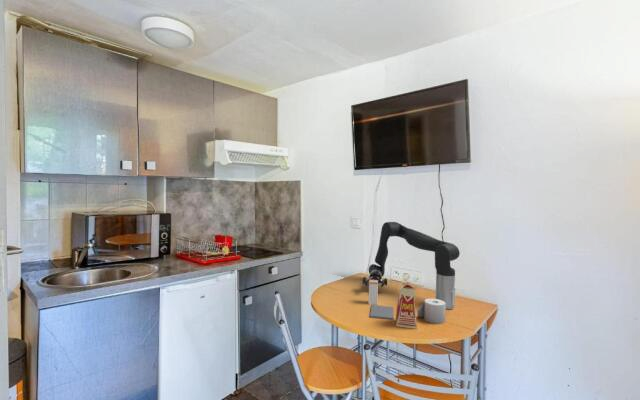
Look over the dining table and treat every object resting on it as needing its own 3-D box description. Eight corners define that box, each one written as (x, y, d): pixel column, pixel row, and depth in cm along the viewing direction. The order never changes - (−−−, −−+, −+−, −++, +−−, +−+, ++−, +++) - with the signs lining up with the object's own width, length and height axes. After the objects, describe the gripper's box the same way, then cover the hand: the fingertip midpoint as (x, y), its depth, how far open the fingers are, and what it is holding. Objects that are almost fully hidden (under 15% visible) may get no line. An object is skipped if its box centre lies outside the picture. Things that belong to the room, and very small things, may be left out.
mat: (371, 306, 168) (371, 304, 168) (393, 308, 166) (393, 306, 166) (369, 317, 153) (370, 315, 153) (393, 319, 151) (393, 318, 151)
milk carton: (417, 328, 142) (419, 283, 141) (396, 326, 144) (397, 282, 143) (415, 320, 151) (417, 278, 150) (395, 318, 152) (396, 276, 152)
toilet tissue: (413, 316, 155) (413, 299, 155) (438, 315, 158) (439, 298, 157) (422, 324, 146) (422, 306, 146) (449, 323, 149) (449, 304, 148)
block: (377, 302, 175) (378, 280, 174) (377, 305, 170) (377, 282, 170) (369, 301, 176) (369, 279, 175) (368, 304, 171) (369, 281, 171)
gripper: (364, 270, 201) (361, 276, 185) (387, 271, 198) (387, 278, 182) (363, 282, 201) (361, 289, 185) (387, 284, 198) (386, 292, 182)
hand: (374, 284), depth 183 cm, fingers open, 8 cm apart
